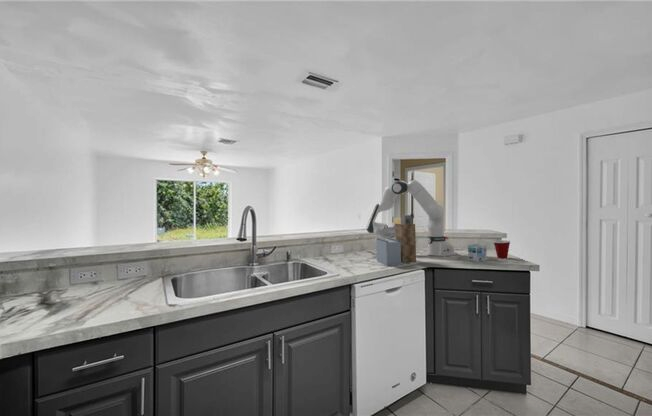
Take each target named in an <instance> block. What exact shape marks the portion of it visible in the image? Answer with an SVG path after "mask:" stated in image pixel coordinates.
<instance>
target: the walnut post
mask: <svg viewBox="0 0 652 416" xmlns="http://www.w3.org/2000/svg"><path fill="white" fill-rule="evenodd" d="M394 226H395V239H396V240H400V244H401V264H408V263H417V245H416V243H417V241H416V238H417V237H416V224H415V223H412V224H398V223H394Z"/></svg>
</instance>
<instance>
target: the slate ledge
mask: <svg viewBox="0 0 652 416" xmlns="http://www.w3.org/2000/svg"><path fill="white" fill-rule="evenodd" d="M375 245H376V261H377V262H379V263H381V264H383V265H384V266H398V265H399V266H400V265H402V263H401V244H400V240H396V238H393V237H392V238H387V239H379V238H377V240H376V242H375Z"/></svg>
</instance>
